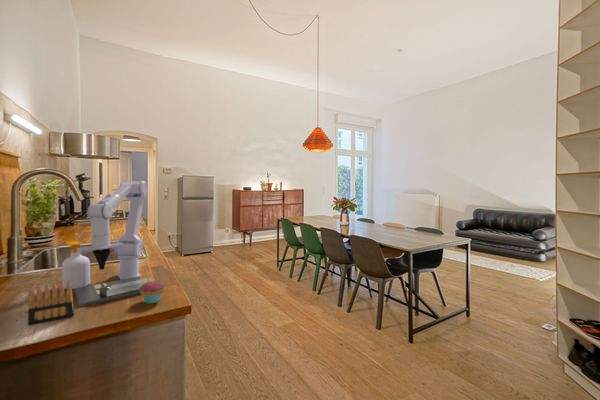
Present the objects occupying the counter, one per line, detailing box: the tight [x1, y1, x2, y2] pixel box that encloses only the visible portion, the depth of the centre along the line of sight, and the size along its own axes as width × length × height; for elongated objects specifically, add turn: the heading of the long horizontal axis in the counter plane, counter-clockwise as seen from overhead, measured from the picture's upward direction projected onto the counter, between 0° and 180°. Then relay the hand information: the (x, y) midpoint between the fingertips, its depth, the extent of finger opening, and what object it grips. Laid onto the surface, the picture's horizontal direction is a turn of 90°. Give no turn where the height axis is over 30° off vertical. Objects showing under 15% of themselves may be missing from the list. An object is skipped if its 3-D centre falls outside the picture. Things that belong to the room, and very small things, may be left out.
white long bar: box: [99, 276, 155, 298], centre depth 110 cm, size 18×4×3 cm, turn 135°
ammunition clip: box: [27, 280, 75, 327], centre depth 89 cm, size 11×2×12 cm, turn 125°
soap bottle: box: [61, 226, 91, 290], centre depth 117 cm, size 9×9×25 cm
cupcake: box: [139, 268, 166, 304], centre depth 104 cm, size 9×8×12 cm
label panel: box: [74, 277, 141, 308], centre depth 112 cm, size 18×22×2 cm
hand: (101, 268), depth 111 cm, fingers closed
